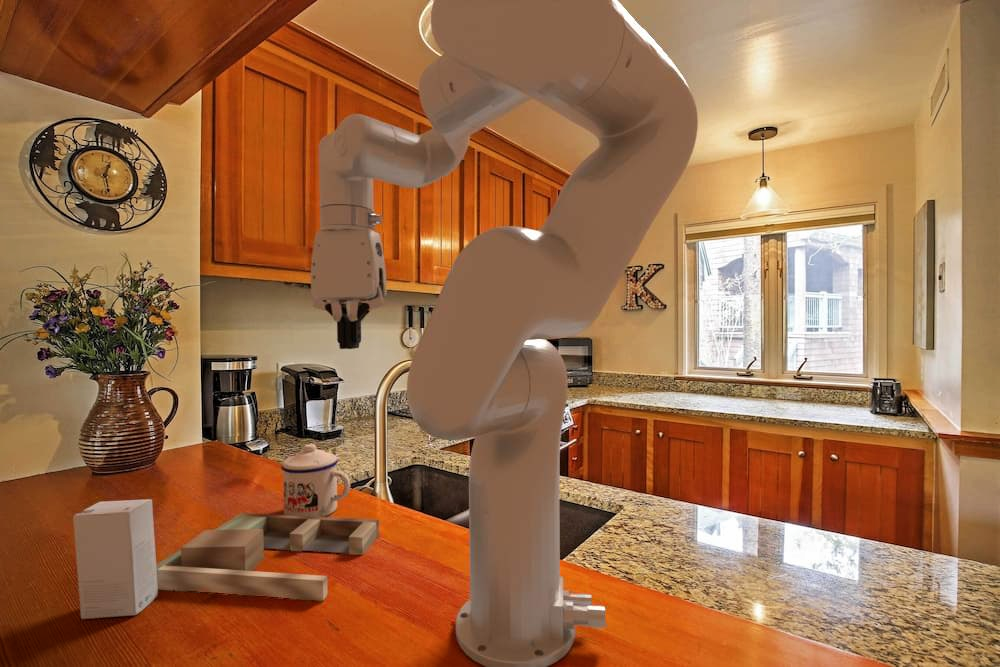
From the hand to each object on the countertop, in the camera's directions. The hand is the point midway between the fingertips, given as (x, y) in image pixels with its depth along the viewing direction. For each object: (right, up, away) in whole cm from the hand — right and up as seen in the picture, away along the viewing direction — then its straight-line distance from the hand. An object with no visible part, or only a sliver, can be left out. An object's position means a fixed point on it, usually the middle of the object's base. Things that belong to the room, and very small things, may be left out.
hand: (349, 348), depth 69 cm
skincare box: (-22, -30, -15) cm, 40 cm away
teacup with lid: (-9, -29, +12) cm, 33 cm away
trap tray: (-8, -29, -5) cm, 31 cm away
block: (-15, -30, -7) cm, 34 cm away
